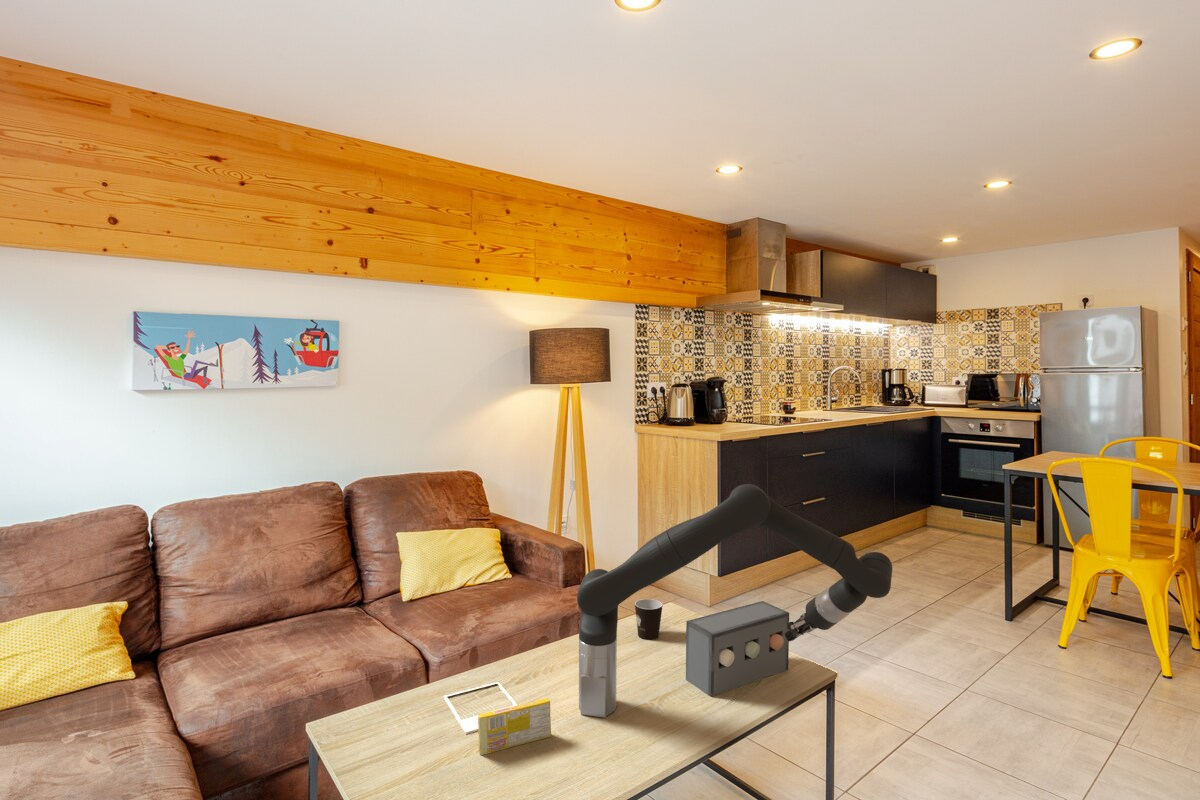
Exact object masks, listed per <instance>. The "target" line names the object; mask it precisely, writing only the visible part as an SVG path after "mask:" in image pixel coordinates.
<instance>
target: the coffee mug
mask: <svg viewBox="0 0 1200 800" xmlns="http://www.w3.org/2000/svg"><path fill="white" fill-rule="evenodd" d="M663 605H664V604H663V603H662V602H661V601H660V600H657V599H652V598H642V599H638V600H636V601H635V602H634V611H635V619H636V628H637V629H636V630H637V636H638V638H639V639H641V640H647V641H652V640H653V641H654V640H656V639H659V635H660V631H661V630H660V628H661V620H662V614H663V613H662V612H663Z"/></svg>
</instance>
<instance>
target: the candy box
mask: <svg viewBox="0 0 1200 800" xmlns="http://www.w3.org/2000/svg"><path fill="white" fill-rule="evenodd" d="M512 706H513V705H512ZM508 707H509V706H508ZM504 708H505V709H502V708H500V709H501V710H498V709H496V711H495V710H492V712H491V711H488V712H484V713H480V714H478V731H477V732H478V752H479V755H480V756H482V755H487V754H491V753H494V752H497V751H498V752H499V751H501V750H505V749H509V748H513V747H517V746H520V745H526V744H528V743H532V742H537V741H540V740H543V739H548V738H551V737H552V728H551V727H552V726H551V724H552V723H551V700H550V699H549V698H547V697H546V698H542V699H538V700H534V701H531V702H530V701H529V702H526V703H523V704H517V706H513V707H509V708H506V707H504Z"/></svg>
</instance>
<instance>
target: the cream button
mask: <svg viewBox="0 0 1200 800" xmlns="http://www.w3.org/2000/svg"><path fill="white" fill-rule="evenodd" d="M733 661H734V653H733V652H732V651H730V650H729V649H727V648H724V649H721V650H719V663H721V664H722V665H724V666H726V667H728V666H730V665H731V664H732V663H733Z"/></svg>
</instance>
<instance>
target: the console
mask: <svg viewBox="0 0 1200 800" xmlns="http://www.w3.org/2000/svg"><path fill="white" fill-rule="evenodd" d="M789 622H790V612H788V611H786V610H784V609H781V608H779V607H778V606H775V605H772V604H770V603H768V602H766V601H761V600H760V601H757V602H754V603H751V604H746V605H742V606H738V607H735V608H734V607H733V608H731V609H727V610H723V611H721V612H720V611H719V612H716V613H711V614H708V615H704V616H700V617H696V618H693V619H689V620H686V621H685V623H686V624H685V625H686V626H685V628H686V630H685V631H686V632H685V634H686V635H685V637H686V638H685V680H686V681H687V682H688V683H690V684H691V685H693V686H694V687H695V688H697V689H699V690H700V691H701V692H703V693H705V694H706V695H708V696H709V697H714V696H718V695H720V694H723V693H726V692H728V691H731V690H734V689H736V688H740V687H743V686H745V685H749V684H751V683H754V682H757V681H759V680H763V679H765V678H769V677H771V676H774V675H778V674H780V673H782V672H786V671H788V670H789V656H790V655H789V651H790V650H789V645H790V642H789V641H788V640H787V638H786V637H785V633H786V632H788V631H789V629H788V623H789ZM773 633H776V634H778V635H780V636H782V637H783V639H784V643H783V646H782V648H781V649H780V650H775V649H773V648H771V647H769V638H770V634H773ZM750 640H752V641H754V642H756V643H757V644H759V646H760V651H759V654H758V656H757V657H755V658H751V657H749V656H747V655H745V642H747V641H750ZM724 648H727V649H729V650H730V651H732V652H733V653H734V661H733V663H732V664H731V665H730V666H728V667H726V666H724V665H722V664H721V663H719V650H721V649H724Z"/></svg>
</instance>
